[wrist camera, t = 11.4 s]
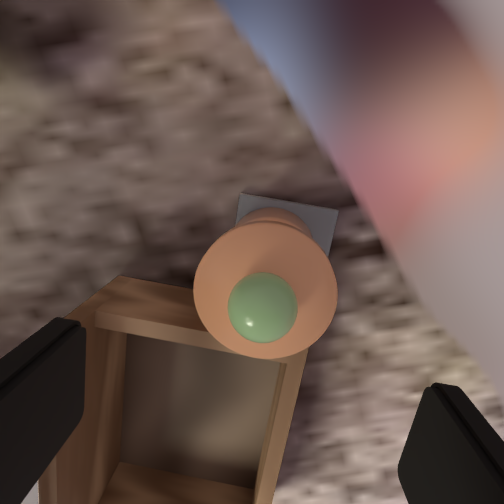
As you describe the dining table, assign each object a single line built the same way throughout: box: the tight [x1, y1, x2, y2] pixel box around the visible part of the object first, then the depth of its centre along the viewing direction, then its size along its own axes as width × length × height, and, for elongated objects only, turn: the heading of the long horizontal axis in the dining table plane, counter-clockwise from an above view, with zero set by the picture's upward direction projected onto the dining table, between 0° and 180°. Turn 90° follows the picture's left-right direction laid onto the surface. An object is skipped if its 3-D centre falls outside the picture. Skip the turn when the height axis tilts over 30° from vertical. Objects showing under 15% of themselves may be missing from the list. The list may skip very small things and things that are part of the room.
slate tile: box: [235, 193, 339, 257], centre depth 22 cm, size 6×6×1 cm
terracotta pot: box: [193, 207, 338, 359], centre depth 17 cm, size 6×6×10 cm
